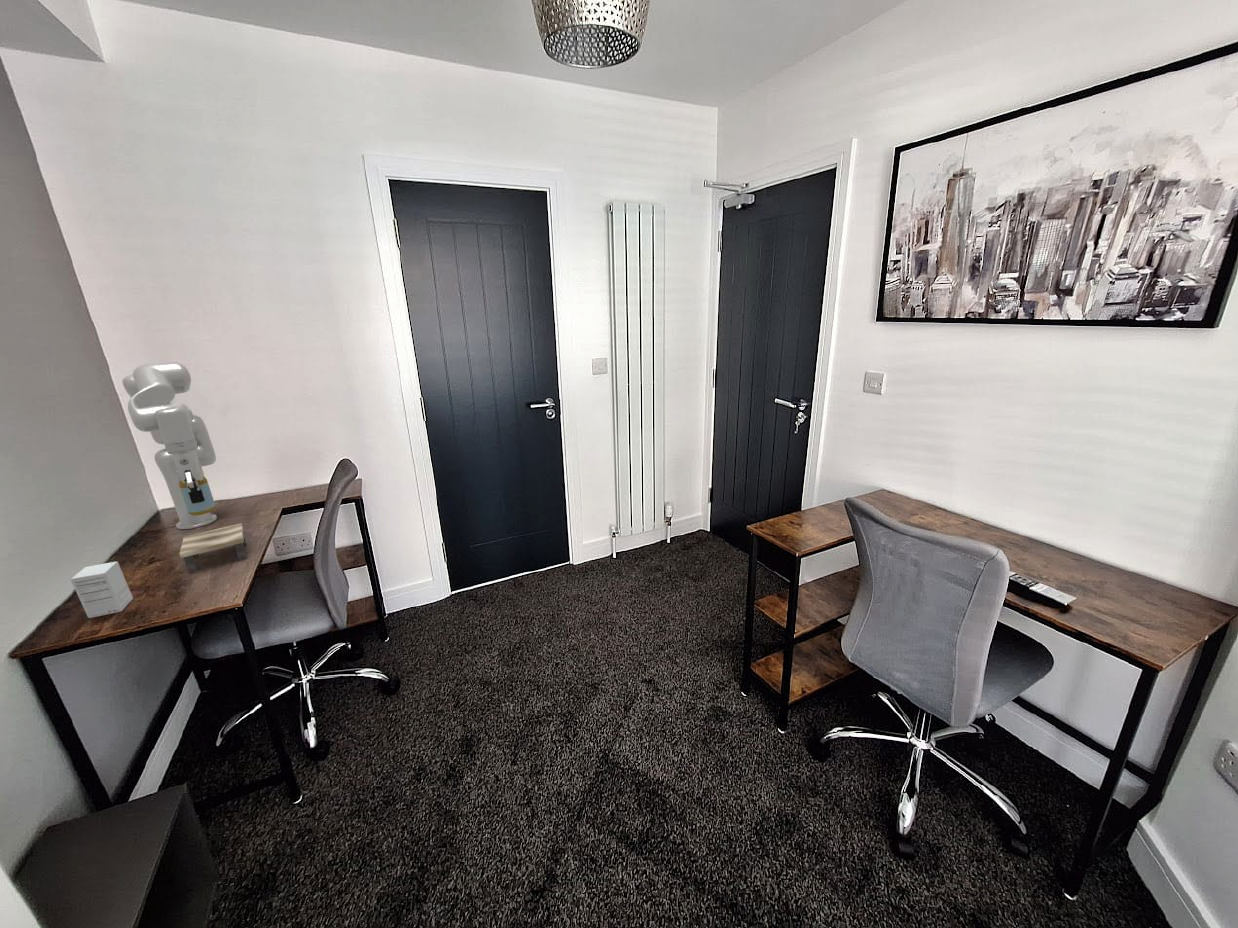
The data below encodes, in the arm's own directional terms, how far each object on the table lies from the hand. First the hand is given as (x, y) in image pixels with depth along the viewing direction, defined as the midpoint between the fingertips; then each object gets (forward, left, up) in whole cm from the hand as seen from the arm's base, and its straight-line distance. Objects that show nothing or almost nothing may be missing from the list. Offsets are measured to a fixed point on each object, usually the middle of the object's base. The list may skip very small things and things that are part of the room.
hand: (199, 498), depth 159 cm
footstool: (0, 0, -22) cm, 22 cm away
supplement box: (+18, -24, -22) cm, 37 cm away
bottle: (0, 0, -5) cm, 5 cm away
